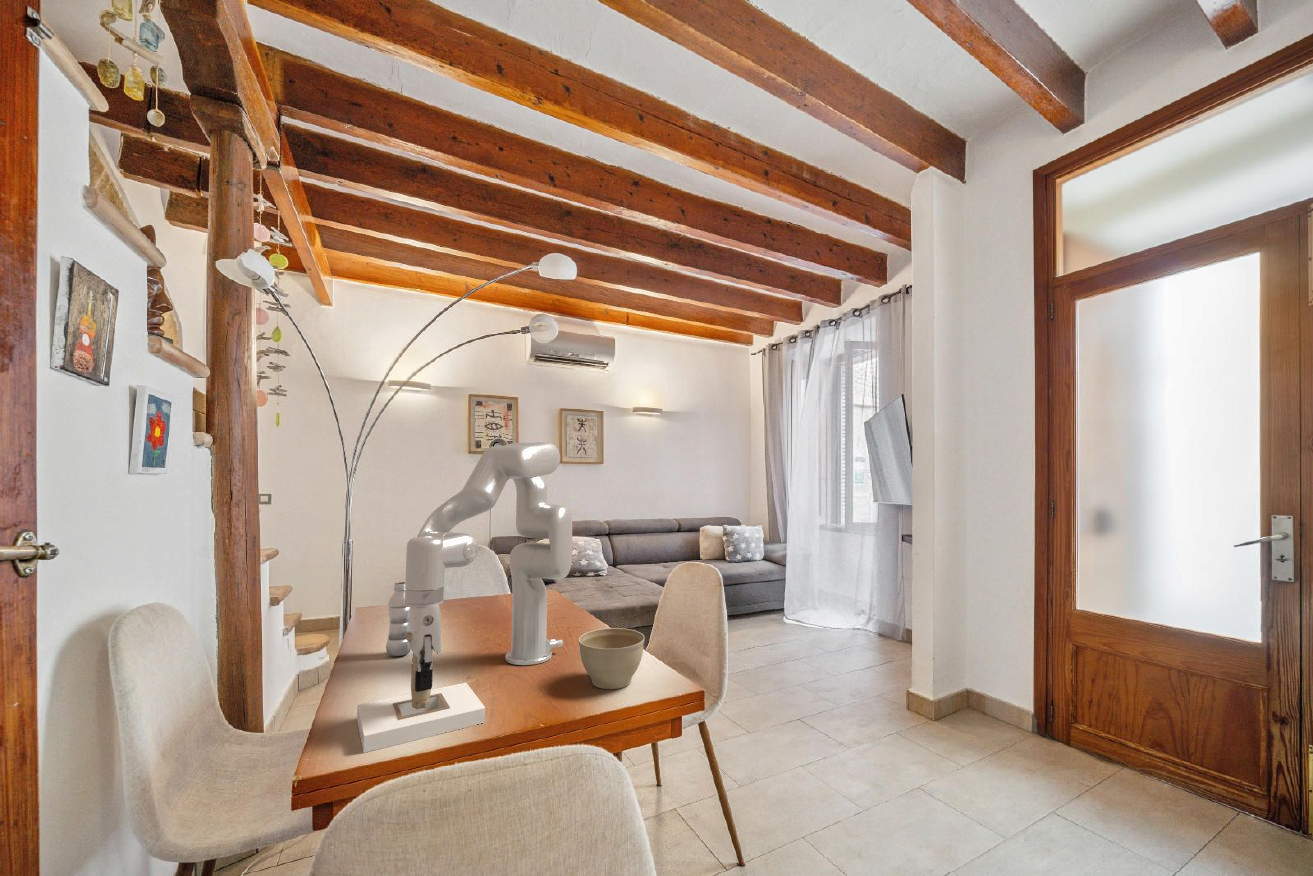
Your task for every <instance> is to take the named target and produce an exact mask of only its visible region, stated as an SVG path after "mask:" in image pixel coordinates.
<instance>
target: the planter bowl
mask: <svg viewBox="0 0 1313 876" xmlns="http://www.w3.org/2000/svg"><path fill="white" fill-rule="evenodd" d="M578 644H579V654H580V655H579V656H580V660H581V662H582V665H583V667H584V670H585V671H586V673H587V674H588V676H589V677H590V679H591V682H592V683H591V684H592V685H593V686H594V687H597V688H599V689H603V690H617V689H623V688H625V687H627V686H629V685H630V684H631V683H632V678H633V676H634V675H635V673H636V672H637V670H638V668H639V666H640V664H641V660H642V658H643V653H644V644H645V635H644V634H643V633H642V632H639V631H637V630H635V629H630V628H629V629H628V628H619V627H615V628H614V627H612V628H611V627H610V628H600V629H594V630H591V631H587V632H585V633H583V634H582V635H580V636H579V637H578Z"/></svg>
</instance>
